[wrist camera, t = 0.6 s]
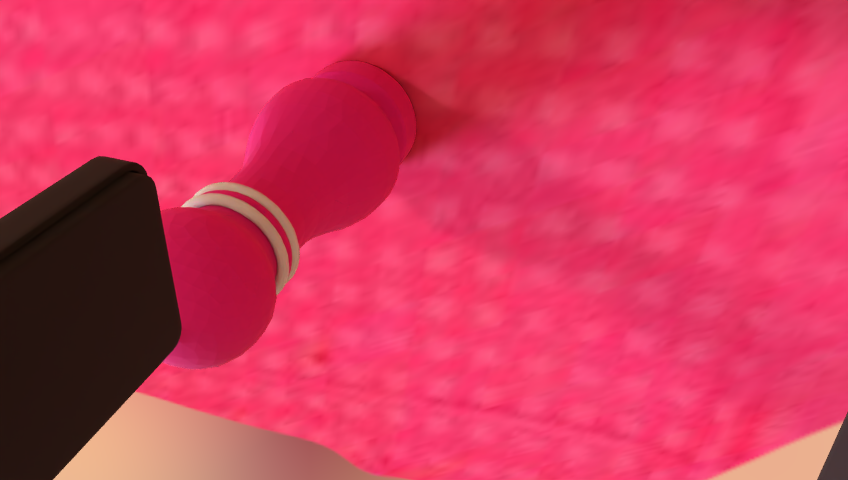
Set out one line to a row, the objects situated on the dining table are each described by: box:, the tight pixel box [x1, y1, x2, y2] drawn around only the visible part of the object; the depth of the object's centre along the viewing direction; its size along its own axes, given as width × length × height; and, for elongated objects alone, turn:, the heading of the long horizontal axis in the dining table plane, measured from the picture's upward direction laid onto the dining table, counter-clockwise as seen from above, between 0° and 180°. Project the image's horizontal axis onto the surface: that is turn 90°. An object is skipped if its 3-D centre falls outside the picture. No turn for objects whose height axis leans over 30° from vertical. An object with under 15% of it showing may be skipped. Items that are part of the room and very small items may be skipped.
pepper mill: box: [160, 61, 416, 369], centre depth 33 cm, size 7×7×20 cm
